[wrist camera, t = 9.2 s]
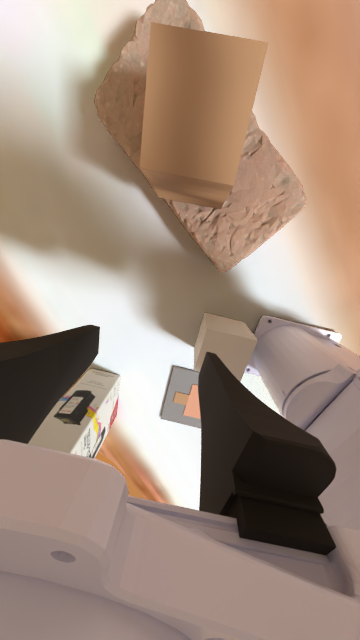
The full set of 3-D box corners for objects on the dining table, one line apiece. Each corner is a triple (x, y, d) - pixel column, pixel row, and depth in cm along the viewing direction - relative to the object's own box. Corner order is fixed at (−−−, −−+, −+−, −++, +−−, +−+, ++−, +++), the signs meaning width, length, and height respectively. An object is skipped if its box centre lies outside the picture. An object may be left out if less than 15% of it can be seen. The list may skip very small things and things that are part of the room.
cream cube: (244, 321, 21) (258, 340, 17) (231, 356, 23) (240, 381, 18) (204, 312, 21) (206, 328, 17) (194, 347, 23) (193, 370, 18)
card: (223, 377, 24) (223, 379, 24) (203, 427, 28) (203, 429, 27) (173, 365, 24) (173, 367, 24) (160, 416, 28) (160, 419, 27)
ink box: (117, 416, 29) (67, 517, 18) (88, 409, 29) (20, 506, 18) (121, 374, 25) (65, 464, 14) (89, 367, 26) (8, 451, 15)
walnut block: (239, 126, 12) (268, 42, 7) (220, 209, 14) (233, 185, 9) (168, 112, 12) (150, 21, 7) (158, 197, 14) (139, 167, 9)
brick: (110, 136, 16) (79, 93, 12) (175, 41, 14) (167, -57, 10) (218, 273, 20) (225, 278, 15) (286, 216, 17) (317, 202, 13)
